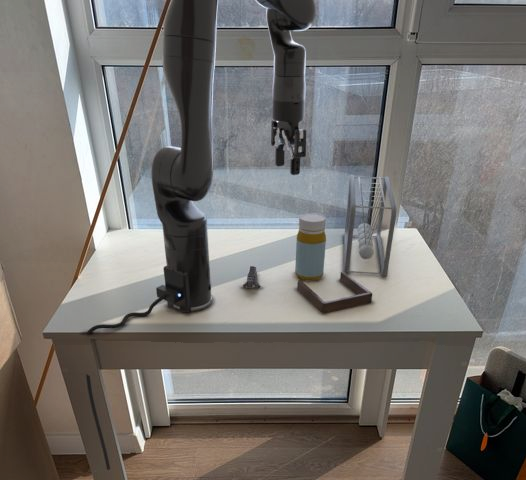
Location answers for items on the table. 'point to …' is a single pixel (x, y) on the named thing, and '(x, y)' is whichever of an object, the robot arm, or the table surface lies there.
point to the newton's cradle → (368, 226)
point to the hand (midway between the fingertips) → (287, 169)
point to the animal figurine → (252, 279)
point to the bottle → (310, 247)
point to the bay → (338, 304)
